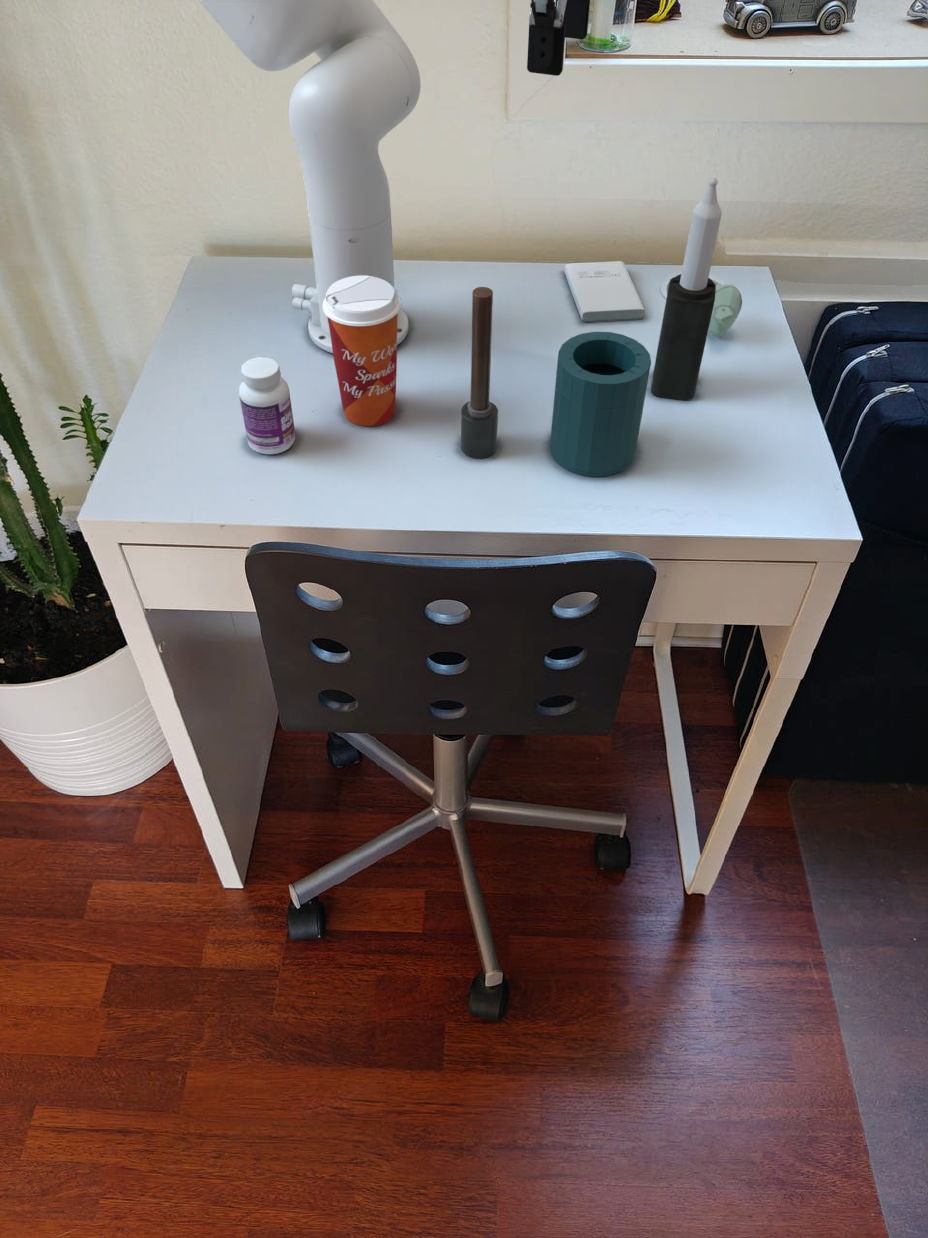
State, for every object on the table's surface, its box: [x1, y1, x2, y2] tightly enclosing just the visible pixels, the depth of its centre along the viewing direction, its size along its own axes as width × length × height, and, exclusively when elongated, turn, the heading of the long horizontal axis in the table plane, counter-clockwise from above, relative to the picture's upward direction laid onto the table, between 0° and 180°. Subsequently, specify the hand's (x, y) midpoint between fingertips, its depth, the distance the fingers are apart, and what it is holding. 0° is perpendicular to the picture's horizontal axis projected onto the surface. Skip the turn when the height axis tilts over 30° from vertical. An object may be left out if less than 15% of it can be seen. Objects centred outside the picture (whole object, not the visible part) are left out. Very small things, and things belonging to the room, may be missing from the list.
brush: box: [460, 286, 499, 459], centre depth 104 cm, size 4×4×19 cm
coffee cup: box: [323, 275, 402, 427], centre depth 110 cm, size 8×8×15 cm
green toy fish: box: [708, 283, 743, 337], centre depth 124 cm, size 8×4×7 cm, turn 2°
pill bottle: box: [238, 356, 296, 455], centre depth 108 cm, size 5×5×10 cm
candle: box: [650, 177, 723, 401], centre depth 110 cm, size 5×5×25 cm
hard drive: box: [564, 260, 646, 323], centre depth 132 cm, size 2×8×12 cm
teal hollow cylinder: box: [549, 331, 652, 478], centre depth 107 cm, size 9×9×12 cm
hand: (557, 54), depth 94 cm, fingers open, 9 cm apart
